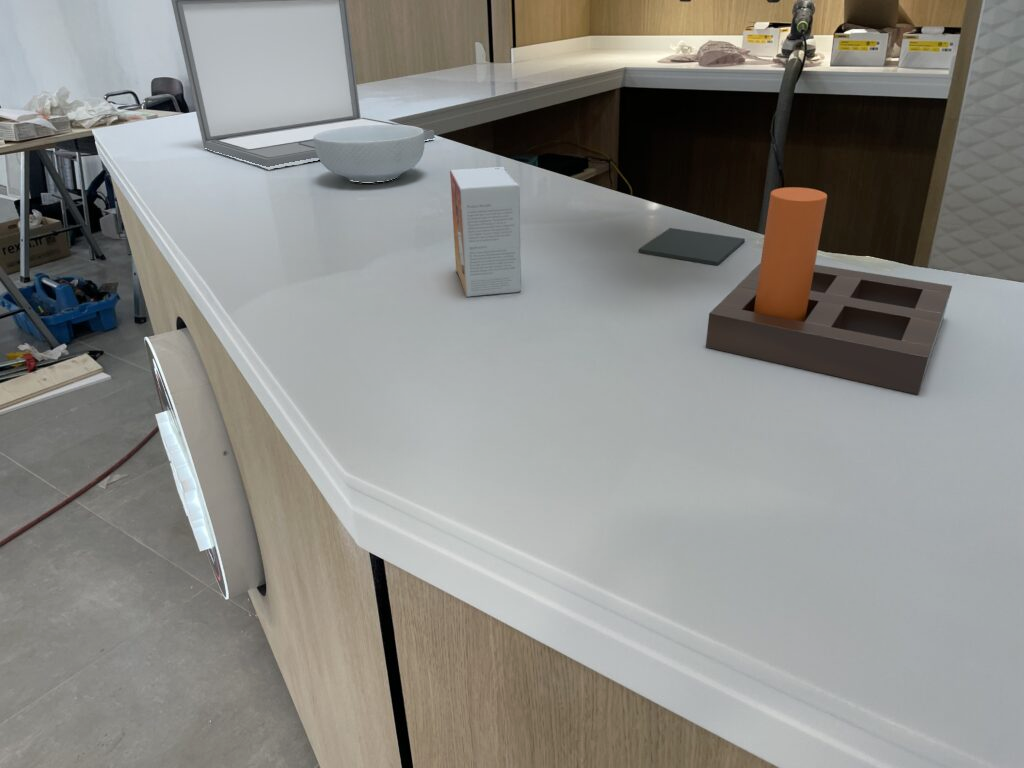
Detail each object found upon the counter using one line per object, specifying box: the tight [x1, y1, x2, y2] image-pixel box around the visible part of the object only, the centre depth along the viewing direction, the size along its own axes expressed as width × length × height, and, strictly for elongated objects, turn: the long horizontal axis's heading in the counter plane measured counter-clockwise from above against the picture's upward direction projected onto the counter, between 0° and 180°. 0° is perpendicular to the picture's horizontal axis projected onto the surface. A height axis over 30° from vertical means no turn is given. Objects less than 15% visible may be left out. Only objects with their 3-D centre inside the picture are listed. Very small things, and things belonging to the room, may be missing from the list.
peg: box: [754, 186, 828, 322], centre depth 58 cm, size 4×4×12 cm
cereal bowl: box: [314, 124, 426, 182], centre depth 114 cm, size 17×17×7 cm
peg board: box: [705, 262, 953, 396], centre depth 61 cm, size 16×16×3 cm
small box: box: [449, 166, 522, 298], centre depth 71 cm, size 8×6×10 cm
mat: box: [638, 227, 746, 266], centre depth 82 cm, size 9×9×1 cm
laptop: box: [170, 0, 436, 167], centre depth 135 cm, size 35×28×26 cm
